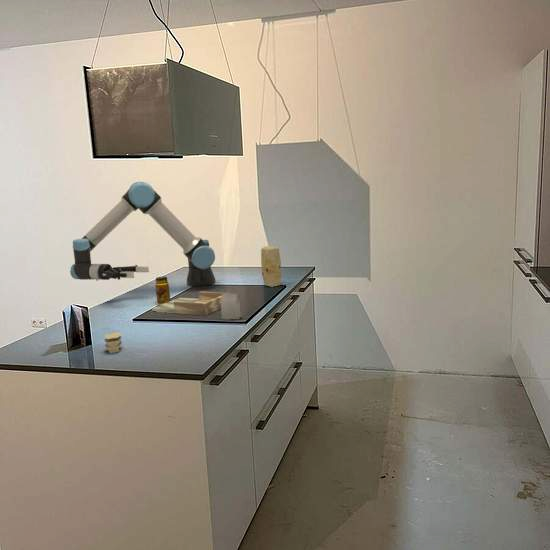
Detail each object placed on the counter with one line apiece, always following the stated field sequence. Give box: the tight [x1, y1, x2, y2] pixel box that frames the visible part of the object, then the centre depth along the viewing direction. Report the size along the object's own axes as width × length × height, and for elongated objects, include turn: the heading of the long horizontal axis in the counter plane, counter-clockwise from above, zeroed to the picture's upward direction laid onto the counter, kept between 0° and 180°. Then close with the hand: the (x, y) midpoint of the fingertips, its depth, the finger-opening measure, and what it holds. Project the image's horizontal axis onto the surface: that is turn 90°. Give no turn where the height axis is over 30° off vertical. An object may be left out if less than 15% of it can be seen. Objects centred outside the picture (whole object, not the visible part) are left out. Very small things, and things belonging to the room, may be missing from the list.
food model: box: [260, 245, 283, 288], centre depth 294 cm, size 10×7×20 cm
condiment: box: [154, 275, 173, 306], centre depth 275 cm, size 7×8×12 cm
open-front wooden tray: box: [151, 291, 231, 316], centre depth 261 cm, size 20×28×5 cm
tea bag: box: [220, 293, 242, 320], centre depth 238 cm, size 4×7×10 cm, turn 69°
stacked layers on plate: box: [103, 332, 123, 354], centre depth 207 cm, size 10×9×6 cm
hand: (141, 272), depth 276 cm, fingers open, 13 cm apart
